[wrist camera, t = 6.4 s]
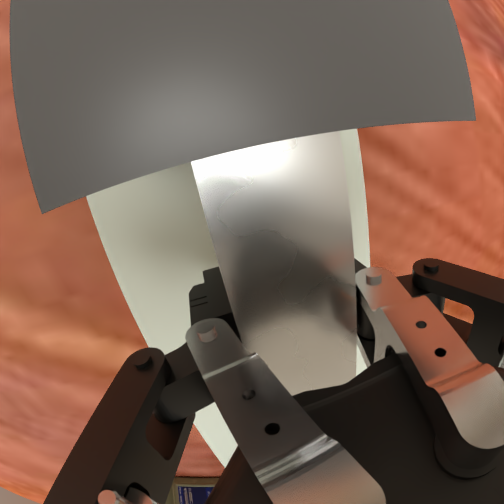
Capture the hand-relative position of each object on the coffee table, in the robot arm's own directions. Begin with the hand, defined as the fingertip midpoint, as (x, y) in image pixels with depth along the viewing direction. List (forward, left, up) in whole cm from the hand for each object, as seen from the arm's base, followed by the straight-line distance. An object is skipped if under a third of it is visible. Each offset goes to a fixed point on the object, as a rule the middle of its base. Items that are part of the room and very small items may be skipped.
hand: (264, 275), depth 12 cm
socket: (0, +8, -3) cm, 8 cm away
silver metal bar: (0, -4, +1) cm, 4 cm away
